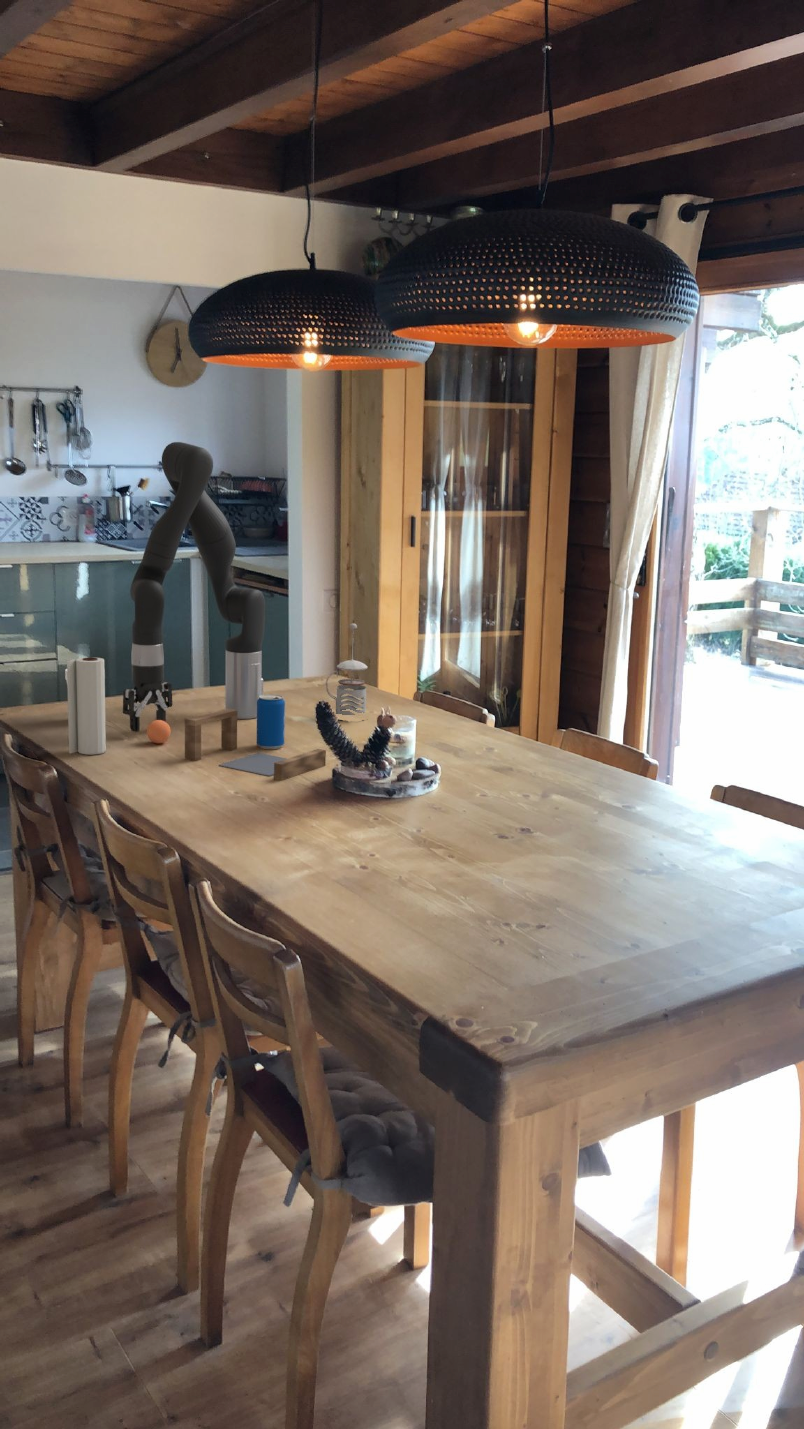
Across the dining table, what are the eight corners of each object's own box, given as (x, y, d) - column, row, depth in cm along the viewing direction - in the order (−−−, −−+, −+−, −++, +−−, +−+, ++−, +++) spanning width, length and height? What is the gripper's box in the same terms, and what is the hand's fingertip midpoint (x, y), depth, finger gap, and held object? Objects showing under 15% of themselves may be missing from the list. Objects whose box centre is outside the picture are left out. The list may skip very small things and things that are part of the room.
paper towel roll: (109, 749, 272) (108, 657, 267) (100, 756, 266) (98, 661, 261) (78, 747, 272) (76, 655, 268) (69, 754, 266) (66, 659, 262)
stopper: (318, 764, 266) (318, 748, 265) (325, 765, 265) (325, 750, 264) (273, 778, 253) (274, 762, 252) (281, 780, 252) (281, 764, 251)
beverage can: (282, 750, 277) (283, 699, 274) (254, 749, 277) (255, 698, 274) (285, 744, 283) (286, 694, 281) (258, 742, 283) (259, 693, 281)
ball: (158, 739, 283) (157, 716, 282) (175, 742, 280) (175, 719, 279) (141, 743, 279) (141, 720, 277) (159, 747, 276) (159, 723, 275)
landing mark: (258, 753, 273) (258, 752, 273) (308, 763, 266) (308, 762, 266) (218, 765, 261) (218, 764, 261) (269, 776, 254) (269, 775, 254)
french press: (368, 722, 309) (371, 626, 304) (323, 720, 309) (326, 625, 304) (370, 714, 319) (373, 621, 313) (326, 712, 319) (328, 619, 313)
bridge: (184, 759, 266) (184, 718, 264) (226, 746, 278) (227, 708, 276) (195, 761, 265) (195, 720, 263) (236, 748, 277) (237, 710, 275)
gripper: (137, 667, 276) (138, 736, 280) (180, 660, 288) (180, 725, 291) (114, 663, 280) (115, 731, 284) (157, 656, 292) (157, 721, 295)
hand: (148, 728), depth 287 cm, fingers open, 8 cm apart
